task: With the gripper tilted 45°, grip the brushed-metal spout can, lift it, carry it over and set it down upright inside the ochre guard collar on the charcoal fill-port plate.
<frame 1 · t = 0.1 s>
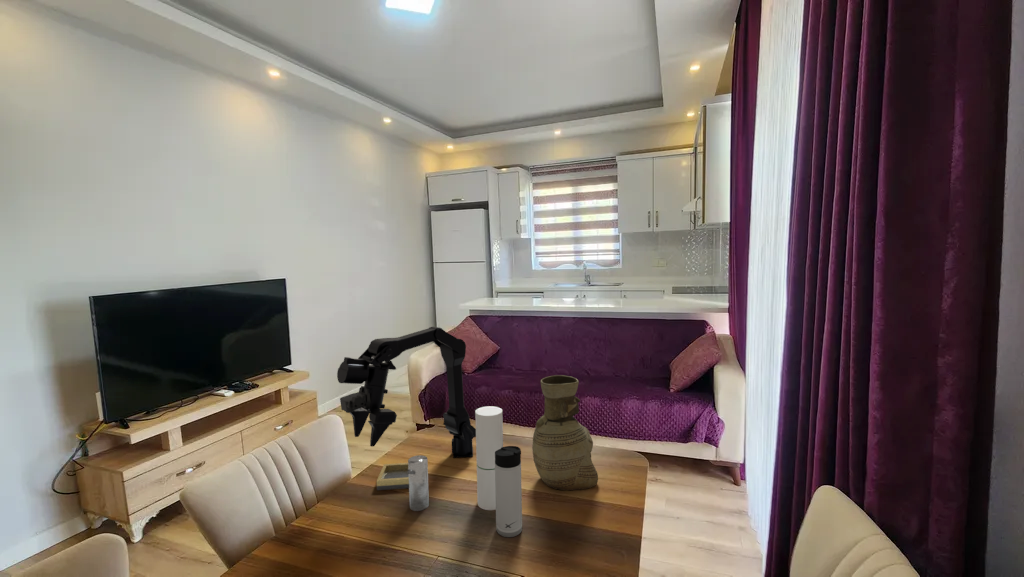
hand: (364, 441, 115), 15 cm above the table, tool pointing down, fingers open, 9 cm apart
spout can: (419, 505, 111), on the table
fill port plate: (397, 480, 124), on the table
travel mug: (509, 530, 100), on the table
ceramic vessel: (564, 480, 123), on the table
cylindrical container: (490, 502, 112), on the table
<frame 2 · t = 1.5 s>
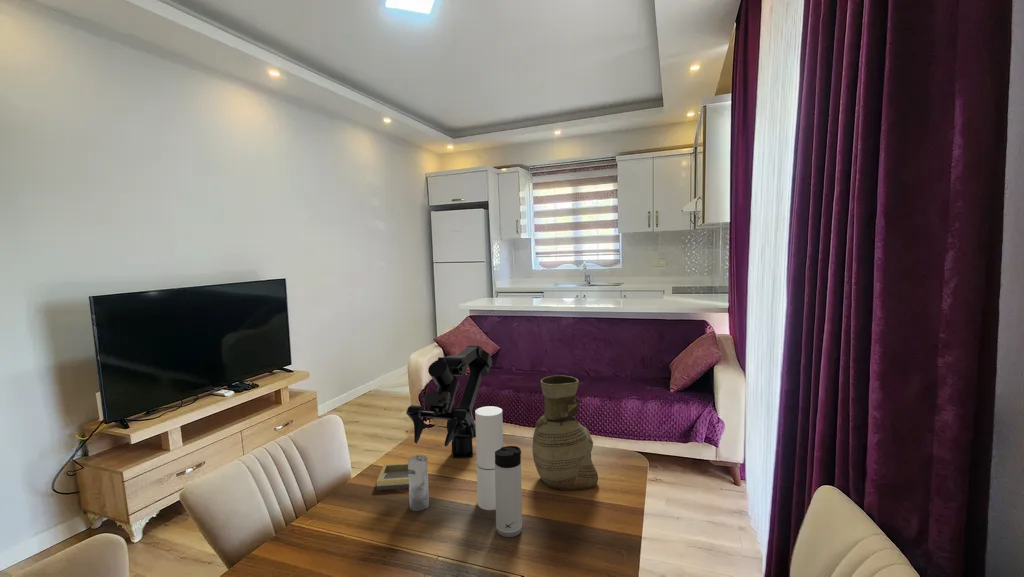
hand: (430, 444, 117), 13 cm above the table, tool tilted 45°, fingers open, 9 cm apart
nothing on the table moved.
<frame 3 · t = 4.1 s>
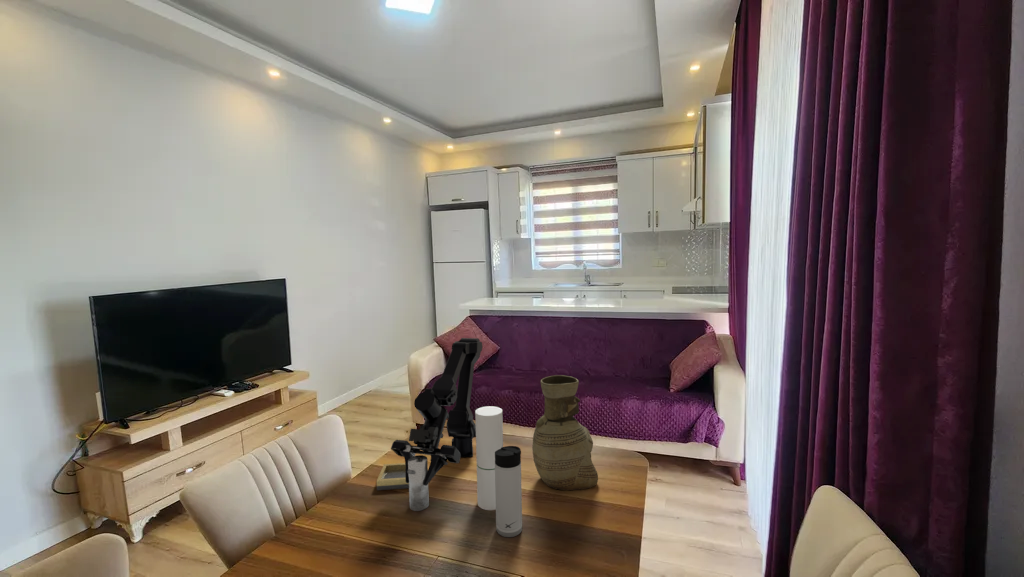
hand: (415, 484, 109), 7 cm above the table, tool tilted 45°, fingers closed on spout can, 5 cm apart
spout can: (419, 505, 111), on the table, touching gripper
everything else where it was.
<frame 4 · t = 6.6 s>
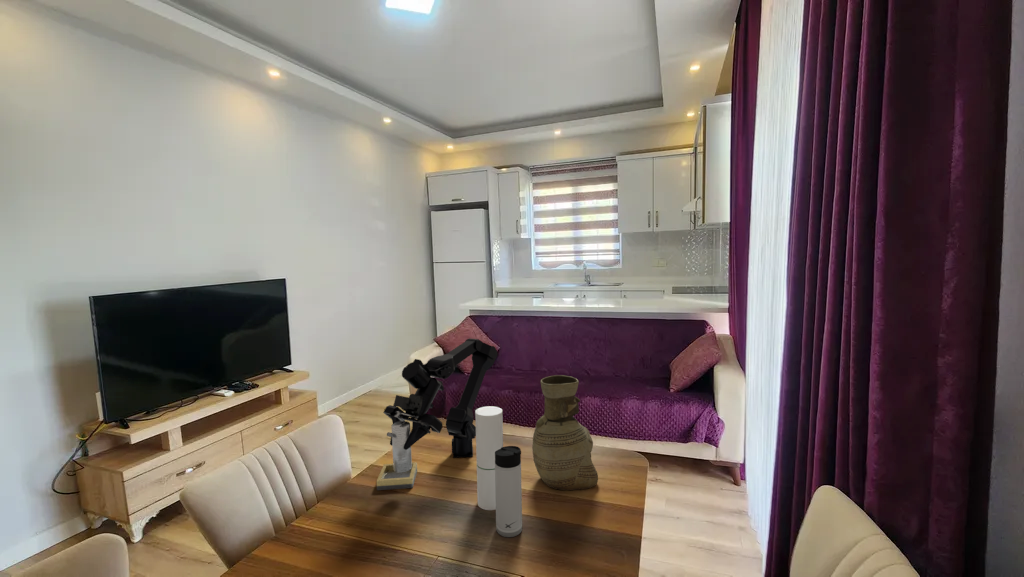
hand: (397, 447, 116), 14 cm above the table, tool tilted 45°, fingers closed on spout can, 5 cm apart
spout can: (402, 468, 117), point 7 cm above the table, touching gripper
everything else where it was.
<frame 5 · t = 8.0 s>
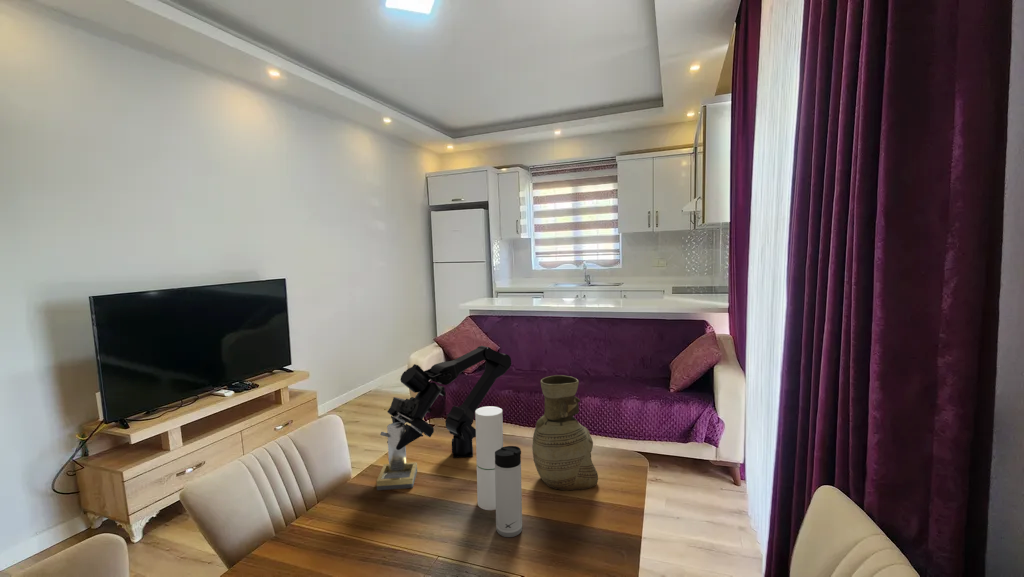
hand: (392, 446, 123), 11 cm above the table, tool tilted 45°, fingers closed on spout can, 5 cm apart
spout can: (397, 466, 124), point 4 cm above the table, touching gripper
everything else where it was.
when the fingers open (9 cm above the table, at t = 9.2 s): spout can drops 1 cm, resting on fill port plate.
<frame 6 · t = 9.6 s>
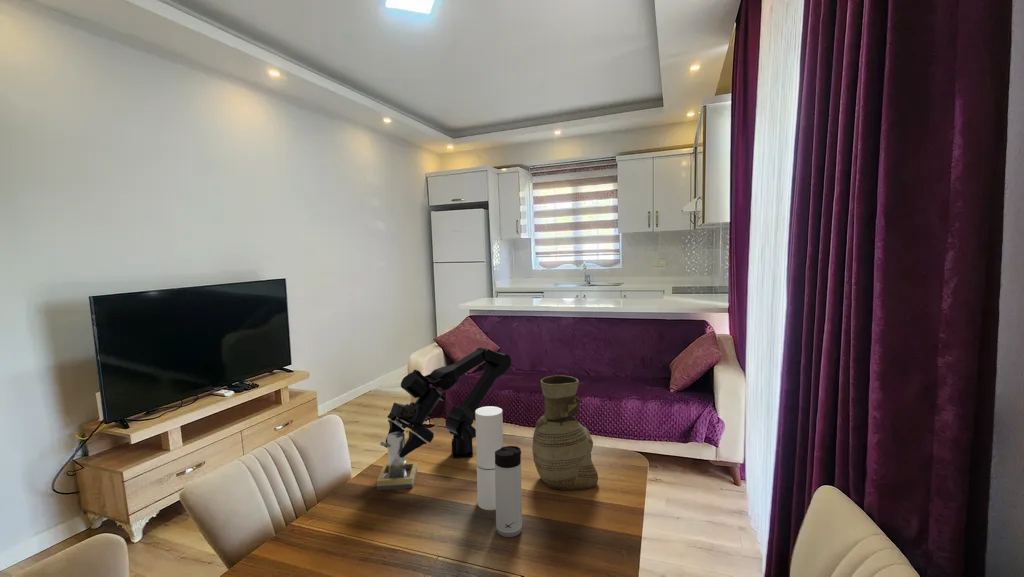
hand: (392, 451, 123), 9 cm above the table, tool tilted 45°, fingers open, 9 cm apart
spout can: (398, 475, 124), point 1 cm above the table, touching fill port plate
everything else where it was.
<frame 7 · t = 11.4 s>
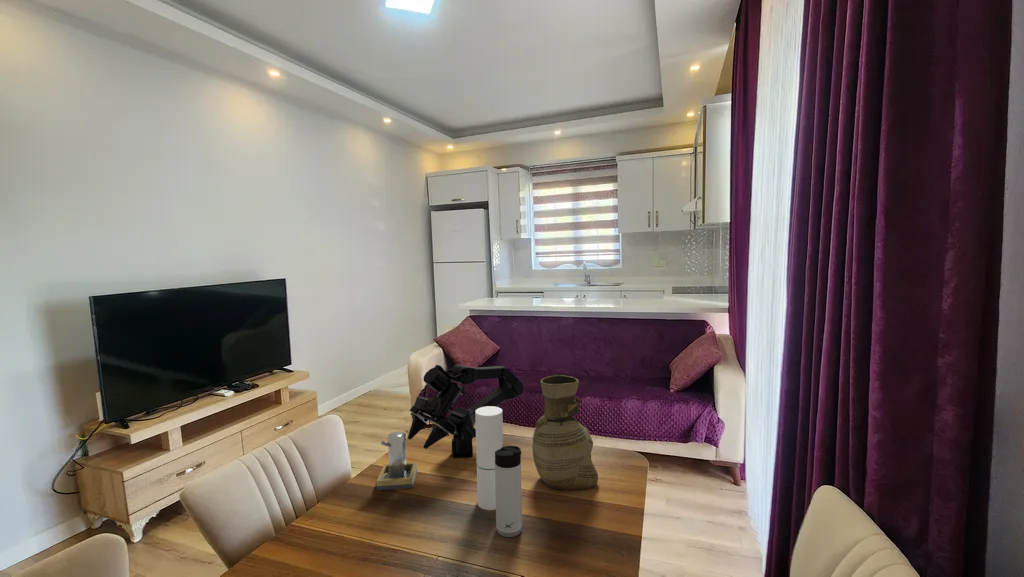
hand: (416, 443, 128), 9 cm above the table, tool tilted 45°, fingers open, 9 cm apart
nothing on the table moved.
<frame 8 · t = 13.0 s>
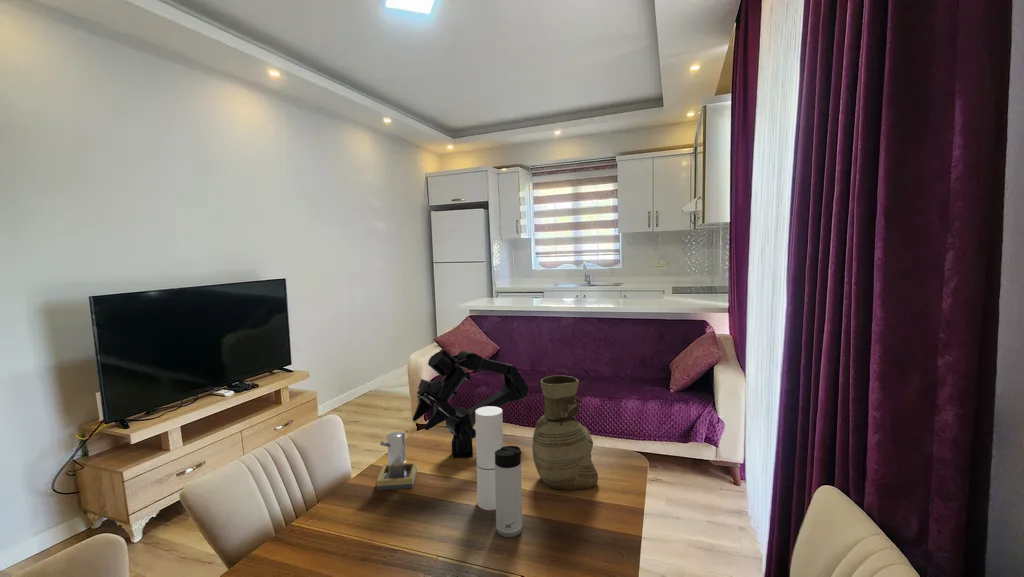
hand: (419, 424, 131), 14 cm above the table, tool tilted 45°, fingers open, 9 cm apart
nothing on the table moved.
at the end: spout can 0.1 cm off-centre on the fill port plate, point 1.2 cm above the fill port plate's base; spout can tilted 1°; the gripper is holding nothing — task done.
